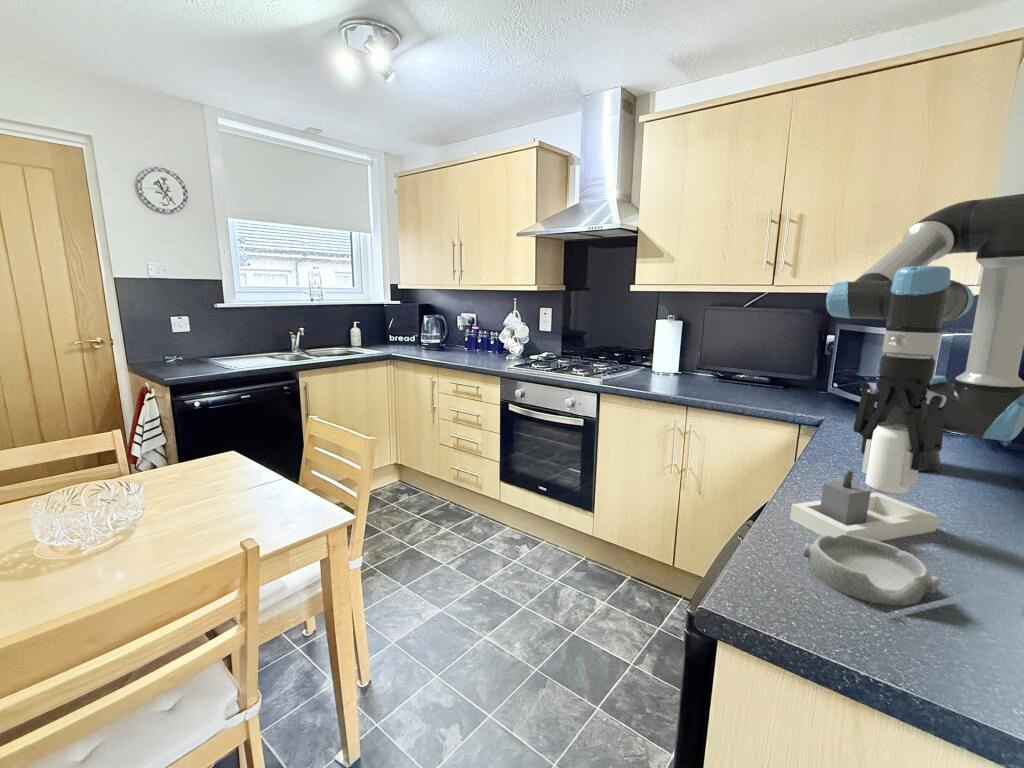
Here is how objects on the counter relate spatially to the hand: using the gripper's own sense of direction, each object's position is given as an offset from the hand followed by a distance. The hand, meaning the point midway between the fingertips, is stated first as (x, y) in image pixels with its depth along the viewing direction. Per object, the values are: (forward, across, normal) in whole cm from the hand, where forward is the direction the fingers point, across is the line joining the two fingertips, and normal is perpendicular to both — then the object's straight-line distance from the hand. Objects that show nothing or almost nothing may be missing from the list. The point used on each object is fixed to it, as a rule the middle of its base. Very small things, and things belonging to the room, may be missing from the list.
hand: (887, 478), depth 89 cm
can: (+2, 0, 0) cm, 2 cm away
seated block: (+9, 0, -10) cm, 13 cm away
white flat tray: (+9, 0, -5) cm, 10 cm away
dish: (+10, +13, -22) cm, 27 cm away
